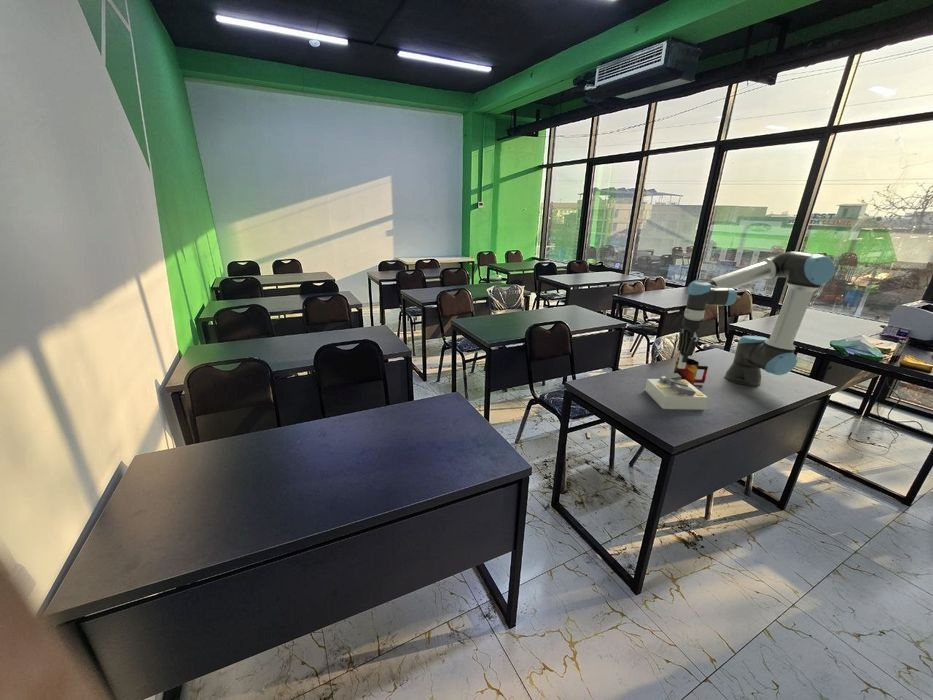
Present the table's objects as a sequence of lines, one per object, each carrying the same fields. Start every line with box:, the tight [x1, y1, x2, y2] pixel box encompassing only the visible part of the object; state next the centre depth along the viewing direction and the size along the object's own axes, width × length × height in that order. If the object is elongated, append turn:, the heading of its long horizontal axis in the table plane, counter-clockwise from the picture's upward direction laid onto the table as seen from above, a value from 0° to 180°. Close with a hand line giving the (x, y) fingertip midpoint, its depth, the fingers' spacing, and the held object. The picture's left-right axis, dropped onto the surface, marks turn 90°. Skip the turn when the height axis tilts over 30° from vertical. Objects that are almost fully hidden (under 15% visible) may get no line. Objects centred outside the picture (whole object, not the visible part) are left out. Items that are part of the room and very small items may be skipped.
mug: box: [673, 357, 709, 387], centre depth 194 cm, size 10×14×12 cm
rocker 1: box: [659, 372, 681, 383], centre depth 182 cm, size 8×4×2 cm, turn 90°
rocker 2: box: [666, 378, 688, 387], centre depth 176 cm, size 8×4×2 cm, turn 91°
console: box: [645, 378, 708, 411], centre depth 178 cm, size 18×18×7 cm
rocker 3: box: [672, 384, 696, 395], centre depth 171 cm, size 8×4×2 cm, turn 91°
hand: (681, 367), depth 180 cm, fingers closed
